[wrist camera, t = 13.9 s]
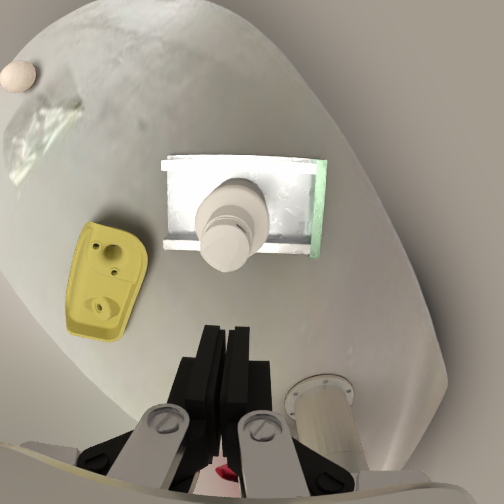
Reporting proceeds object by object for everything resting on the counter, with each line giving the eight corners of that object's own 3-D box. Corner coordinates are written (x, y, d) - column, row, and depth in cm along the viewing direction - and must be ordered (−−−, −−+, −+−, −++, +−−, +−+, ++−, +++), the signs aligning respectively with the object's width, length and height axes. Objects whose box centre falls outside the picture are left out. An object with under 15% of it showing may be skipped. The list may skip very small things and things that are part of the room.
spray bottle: (277, 203, 37) (296, 246, 20) (240, 241, 39) (229, 312, 22) (236, 165, 36) (219, 176, 19) (199, 206, 37) (156, 252, 20)
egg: (37, 58, 30) (9, 50, 23) (47, 78, 32) (18, 71, 25) (17, 81, 31) (-11, 76, 24) (26, 101, 33) (-3, 98, 26)
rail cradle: (313, 249, 40) (318, 258, 37) (171, 245, 40) (164, 253, 37) (320, 159, 36) (327, 160, 33) (169, 155, 36) (161, 155, 33)
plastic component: (119, 344, 43) (60, 332, 38) (118, 312, 49) (64, 300, 43) (159, 241, 36) (82, 219, 31) (154, 215, 42) (90, 194, 36)
